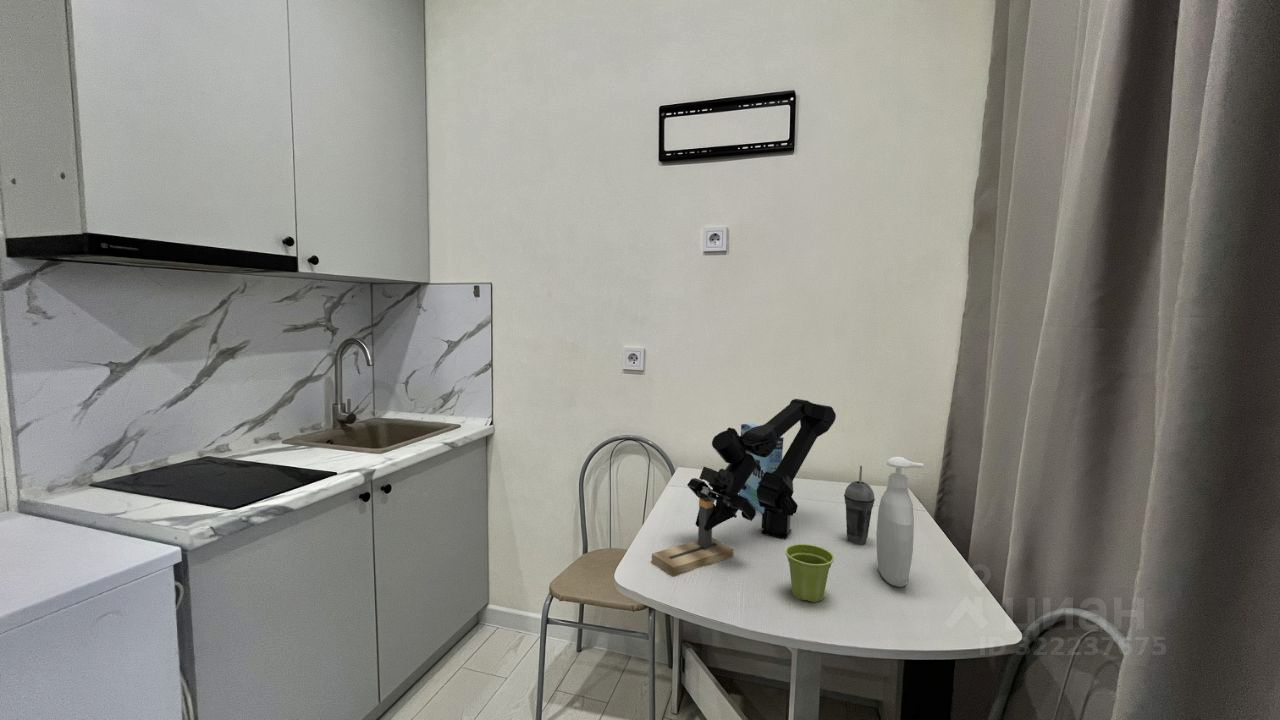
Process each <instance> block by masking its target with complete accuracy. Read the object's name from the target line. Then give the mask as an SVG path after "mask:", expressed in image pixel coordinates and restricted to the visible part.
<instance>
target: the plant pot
mask: <svg viewBox="0 0 1280 720" xmlns="http://www.w3.org/2000/svg"><path fill="white" fill-rule="evenodd" d="M784 552H785V556H786V557H787V561H788V564H789V573H790V582H791V592H792V594H793V595H794V596H795V597H796V598H797V599H800V601H801V600H802V601H809V602H810V603H815V602H820V601H822V600H823V599H824V598H825V597H824V596H825V591H826V588H827V587H826V586H827V582H828V575H829V571H830V568H831V567H832V564H833V563H834V561H835V557H834V555H833V553H832V552H831V551H829V550H828V549H826V548H824V547H821V546H817V545H814V544H807V543H796V544H791V545H789V546H787V547H786V548H785V551H784Z"/></svg>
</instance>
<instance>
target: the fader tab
mask: <svg viewBox="0 0 1280 720" xmlns="http://www.w3.org/2000/svg"><path fill="white" fill-rule="evenodd" d="M698 507H699V508H698V512H699V527H698V532H697V533H698V534H697V536H698V537H697V540H698V545H700V546H702V547H703V548H708V547H711V544H712V538H713V528H712V529H710V530H708V531H705V530H704V526H705V524H706V522H707V521H708V519H709V518H710V516H711V514H712V513H713V500H711V499H708V498H701V499H700V498H698Z"/></svg>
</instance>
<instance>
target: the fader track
mask: <svg viewBox="0 0 1280 720" xmlns="http://www.w3.org/2000/svg"><path fill="white" fill-rule="evenodd" d="M733 557H734V547H731V546H730V545H728V544H726V543H723V542H722V541H720V540H718V539H716V538H714V537H712V544H711V547H708V548H703V547H702V546H700V545H698V539H697V540H694V541H689V542H687V543H682V544H680V545H677V546H672V547H670V548H666V549H663V550H659V551H656V552H653V553H651V563H652V564H654V565H655V566H657V567H658V568H660V570H661V569H662V570H663V571H664V572H666V573H667V574H669V575H670V576H672V577H676V576H678V575H679V576H680V575H682V574H686V573H688V571H689V572H692V571H694V569H695V570H697V568H698V569H701V568H703V566H704V567H707V566H709V565H712V563H713V564H715V563H719V562H721V560H722V561H724V560H727V559H730V558H733ZM718 561H719V562H718ZM706 565H707V566H706ZM700 567H701V568H700ZM691 570H692V571H691Z"/></svg>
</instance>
